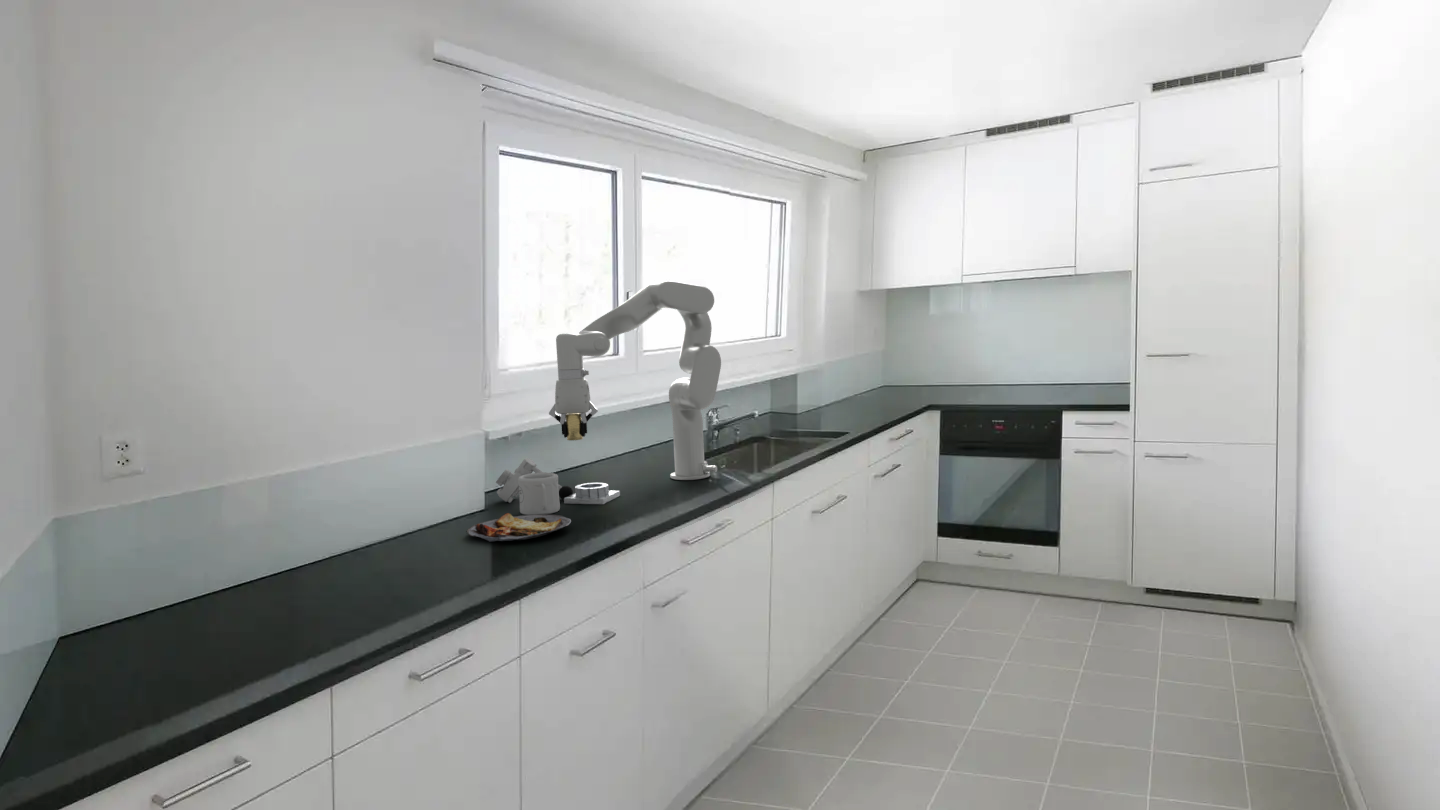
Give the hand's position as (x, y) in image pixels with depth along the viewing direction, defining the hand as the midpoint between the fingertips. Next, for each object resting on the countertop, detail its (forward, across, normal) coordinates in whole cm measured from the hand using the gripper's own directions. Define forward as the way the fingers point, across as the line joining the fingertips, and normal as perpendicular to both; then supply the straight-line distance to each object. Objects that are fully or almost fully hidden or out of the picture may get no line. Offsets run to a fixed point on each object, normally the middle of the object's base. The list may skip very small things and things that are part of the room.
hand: (574, 435), depth 288 cm
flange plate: (+17, -5, +11) cm, 21 cm away
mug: (+17, +7, +26) cm, 32 cm away
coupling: (+1, 0, 0) cm, 1 cm away
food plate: (+18, +9, +50) cm, 53 cm away
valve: (+18, +11, +8) cm, 22 cm away
